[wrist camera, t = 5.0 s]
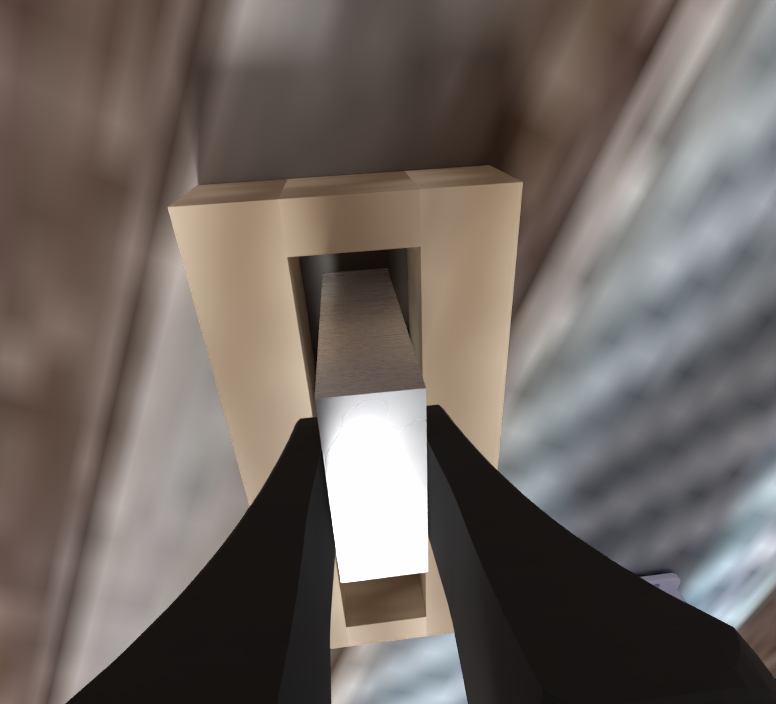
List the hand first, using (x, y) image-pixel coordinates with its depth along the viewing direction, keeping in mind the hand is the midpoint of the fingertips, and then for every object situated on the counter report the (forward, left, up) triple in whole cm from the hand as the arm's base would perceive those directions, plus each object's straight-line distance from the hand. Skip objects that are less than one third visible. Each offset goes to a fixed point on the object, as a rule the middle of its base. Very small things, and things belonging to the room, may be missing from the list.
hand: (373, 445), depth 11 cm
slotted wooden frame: (0, +5, -7) cm, 8 cm away
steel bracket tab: (0, 0, -5) cm, 5 cm away
